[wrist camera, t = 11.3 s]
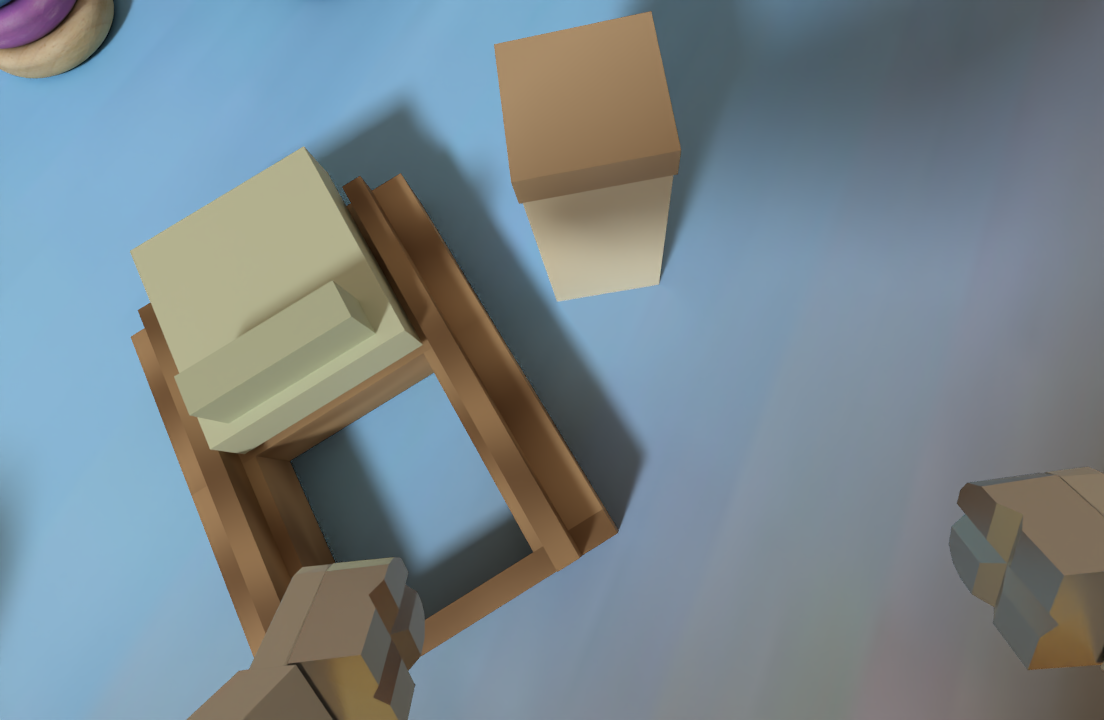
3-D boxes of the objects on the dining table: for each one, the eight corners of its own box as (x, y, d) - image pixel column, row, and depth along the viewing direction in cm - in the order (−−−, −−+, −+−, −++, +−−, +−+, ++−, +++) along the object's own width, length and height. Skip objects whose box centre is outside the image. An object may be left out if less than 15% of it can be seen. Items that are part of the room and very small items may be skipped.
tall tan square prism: (661, 286, 26) (681, 150, 16) (555, 304, 26) (511, 182, 16) (643, 191, 27) (651, 11, 17) (542, 209, 28) (494, 44, 18)
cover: (423, 344, 24) (382, 312, 20) (244, 454, 23) (168, 443, 20) (327, 173, 26) (275, 115, 22) (166, 270, 26) (86, 228, 22)
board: (618, 530, 23) (616, 534, 20) (321, 716, 23) (265, 754, 20) (420, 201, 28) (390, 157, 25) (173, 351, 28) (107, 328, 25)
